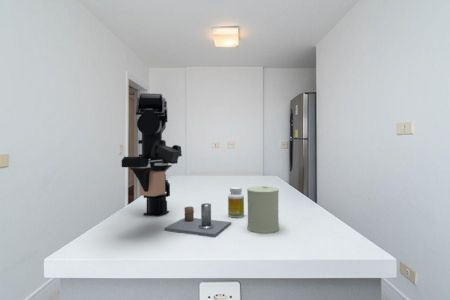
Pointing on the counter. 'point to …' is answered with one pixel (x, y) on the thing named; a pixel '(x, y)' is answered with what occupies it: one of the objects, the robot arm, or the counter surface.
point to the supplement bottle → (236, 203)
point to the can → (263, 209)
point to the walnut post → (189, 214)
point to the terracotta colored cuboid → (154, 184)
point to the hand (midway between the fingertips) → (152, 190)
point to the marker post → (206, 216)
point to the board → (194, 227)
